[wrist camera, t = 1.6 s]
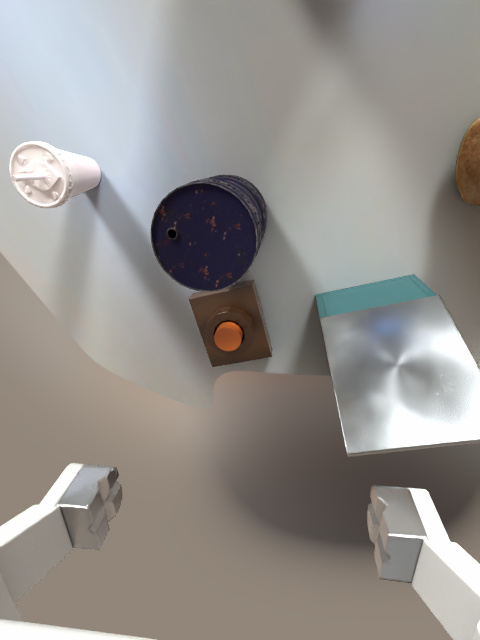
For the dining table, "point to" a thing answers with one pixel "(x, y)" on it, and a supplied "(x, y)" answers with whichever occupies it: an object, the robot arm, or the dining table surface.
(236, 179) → the oil barrel
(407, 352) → the lid
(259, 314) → the button block
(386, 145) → the dining table surface
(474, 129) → the stone cup
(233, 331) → the button
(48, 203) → the smoothie
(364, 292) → the tea tin
